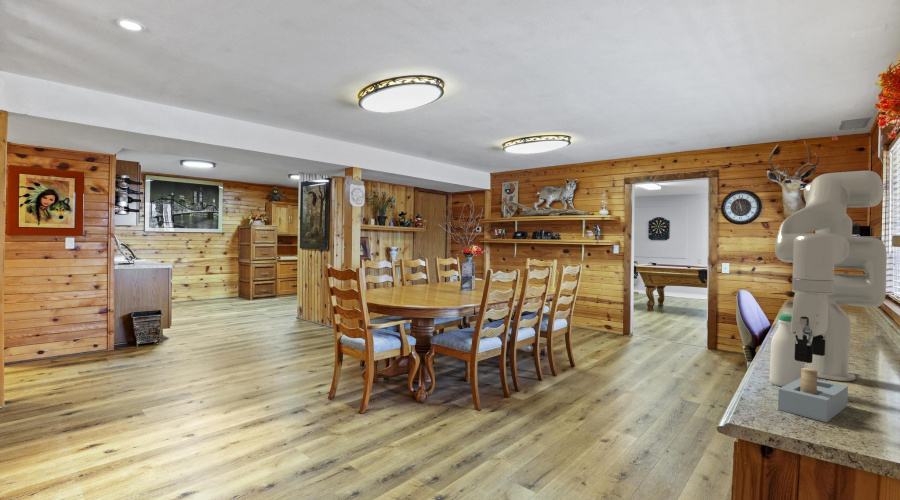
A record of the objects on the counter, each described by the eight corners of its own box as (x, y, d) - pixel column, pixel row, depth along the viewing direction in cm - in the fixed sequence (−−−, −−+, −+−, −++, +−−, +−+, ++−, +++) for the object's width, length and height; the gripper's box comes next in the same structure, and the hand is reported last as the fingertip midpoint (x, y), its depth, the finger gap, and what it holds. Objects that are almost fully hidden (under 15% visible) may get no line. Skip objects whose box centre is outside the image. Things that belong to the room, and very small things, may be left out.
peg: (801, 408, 106) (803, 367, 106) (817, 412, 104) (819, 370, 103) (797, 411, 104) (799, 369, 104) (813, 415, 102) (815, 372, 102)
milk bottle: (809, 390, 120) (812, 317, 119) (778, 388, 121) (780, 316, 121) (793, 381, 127) (796, 313, 127) (763, 379, 129) (766, 311, 128)
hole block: (802, 395, 116) (802, 376, 115) (847, 406, 108) (848, 385, 108) (777, 409, 105) (778, 388, 105) (826, 422, 98) (827, 400, 98)
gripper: (804, 282, 112) (802, 348, 112) (780, 287, 101) (778, 360, 102) (843, 285, 106) (840, 355, 106) (821, 291, 95) (819, 368, 96)
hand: (809, 358), depth 104 cm, fingers open, 9 cm apart
